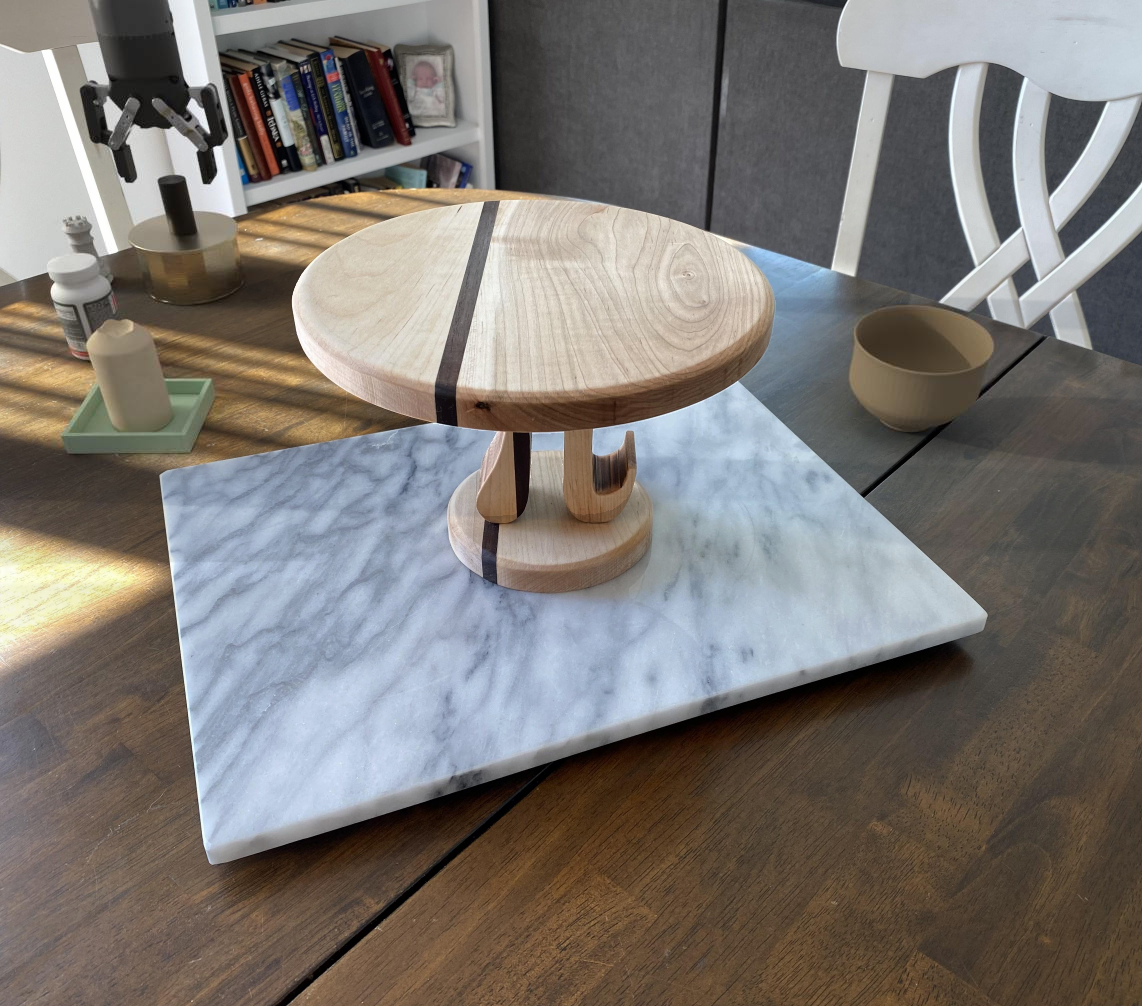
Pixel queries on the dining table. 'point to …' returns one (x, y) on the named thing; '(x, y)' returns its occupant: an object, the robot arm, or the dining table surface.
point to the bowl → (918, 365)
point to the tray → (178, 436)
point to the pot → (193, 275)
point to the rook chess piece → (84, 241)
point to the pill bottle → (81, 298)
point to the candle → (130, 377)
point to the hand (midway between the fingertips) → (170, 181)
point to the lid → (181, 225)
